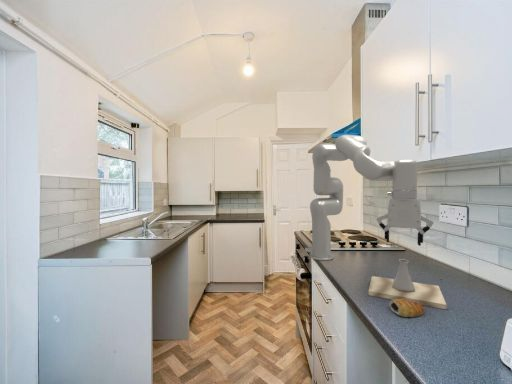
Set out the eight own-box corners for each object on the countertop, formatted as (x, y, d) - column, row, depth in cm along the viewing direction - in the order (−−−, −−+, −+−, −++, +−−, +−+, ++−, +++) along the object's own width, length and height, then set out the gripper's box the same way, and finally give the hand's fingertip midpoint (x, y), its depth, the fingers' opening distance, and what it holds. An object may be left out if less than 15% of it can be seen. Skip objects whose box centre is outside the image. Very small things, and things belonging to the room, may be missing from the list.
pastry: (414, 306, 80) (414, 294, 79) (431, 317, 73) (431, 304, 73) (386, 307, 79) (386, 296, 79) (400, 319, 72) (401, 306, 72)
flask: (419, 293, 85) (419, 264, 85) (396, 291, 86) (396, 263, 86) (410, 284, 92) (410, 257, 92) (389, 283, 94) (389, 257, 93)
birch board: (368, 295, 87) (368, 290, 87) (371, 279, 101) (371, 276, 101) (446, 309, 77) (446, 304, 77) (438, 289, 91) (438, 285, 91)
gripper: (376, 195, 89) (375, 242, 90) (435, 196, 81) (434, 248, 82) (377, 194, 96) (376, 238, 97) (432, 195, 87) (431, 243, 88)
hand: (403, 243), depth 89 cm, fingers open, 9 cm apart
